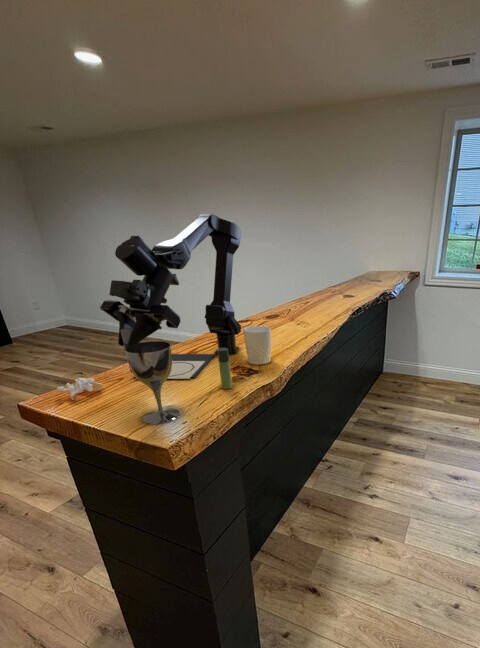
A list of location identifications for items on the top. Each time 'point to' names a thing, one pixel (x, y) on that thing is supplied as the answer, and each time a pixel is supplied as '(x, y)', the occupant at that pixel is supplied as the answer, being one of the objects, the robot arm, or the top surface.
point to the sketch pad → (188, 365)
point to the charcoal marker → (126, 338)
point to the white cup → (258, 344)
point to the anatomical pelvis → (81, 386)
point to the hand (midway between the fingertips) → (124, 345)
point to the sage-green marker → (224, 368)
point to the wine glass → (153, 374)
